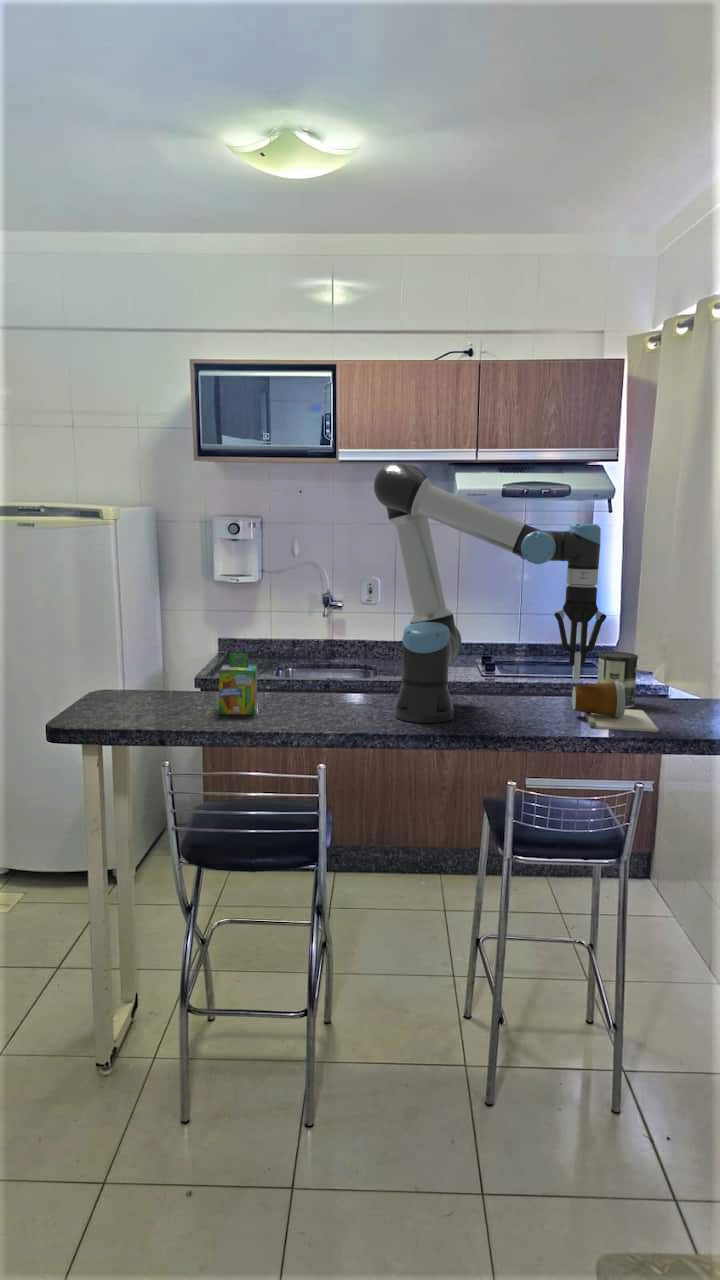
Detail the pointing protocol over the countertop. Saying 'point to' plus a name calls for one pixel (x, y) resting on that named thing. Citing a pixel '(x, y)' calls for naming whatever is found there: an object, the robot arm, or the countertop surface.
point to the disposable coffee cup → (600, 699)
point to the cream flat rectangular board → (622, 721)
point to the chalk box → (238, 687)
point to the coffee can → (619, 672)
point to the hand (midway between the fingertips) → (575, 677)
